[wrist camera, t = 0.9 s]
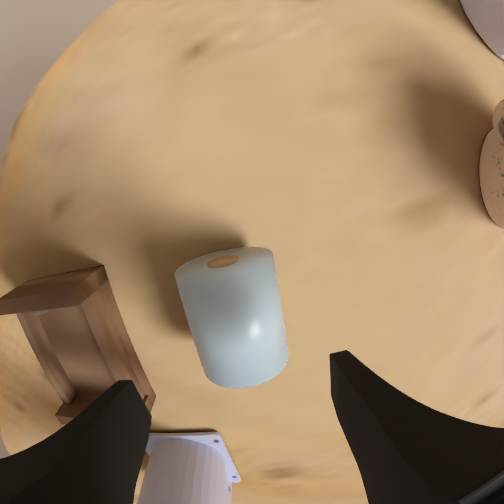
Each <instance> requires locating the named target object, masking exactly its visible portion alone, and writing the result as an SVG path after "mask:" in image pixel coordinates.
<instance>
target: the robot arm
mask: <svg viewBox="0 0 504 504" xmlns="http://www.w3.org/2000/svg"><path fill="white" fill-rule="evenodd" d="M330 374H331V396H332V400H333V403H334V407H335V410H336V414H337V417H338V420H339V422H340V425H341V427H342V429H343V432H344V434H345V436H346V439H347V441H348V443H349V446H350V448H351V450H352V453H353V455H354V457H355V460H356V462H357V465H358V467H359V470H360V473H361V476H362V480H363V483H364V487H365V491H366V494H367V498H368V502H369V504H504V428H496V427H489V426H484V425H480V424H475V423H471V422H468V421H464V420H461V419H458V418H455V417H452V416H449V415H446V414H444V413H441V412H439V411H436V410H434V409H432V408H430V407H428V406H426V405H424V404H422V403H420V402H418V401H416V400H414V399H412V398H411V397H409V396H407V395H406V394H404V393H402V392H401V391H399V390H398V389H396V388H395V387H393V386H392V385H390V384H389V383H387V382H386V381H385V380H383V379H382V378H381V377H379V376H378V375H377V374H375V373H374V372H373V371H371V370H370V369H369V368H368V367H367V366H365V365H364V364H363V363H362V362H361V361H359V360H358V359H357V358H356V357H355V356H354V355H352V354H351V353H350V352H349V351H347V350H345V351H341V352H337V353H332V354H330ZM151 418H152V416H151V414H150V412H149V410H148V409H147V407H146V405H145V403H144V401H143V400H142V398H141V396H140V394H139V392H138V390H137V388H136V386H135V384H134V383H133V381H132V380H118V381H117V382H115V383H114V384H113V385H112V386H110V387H109V388H108V389H107V390H106V391H105V392H104V393H102V394H101V395H100V396H99V397H98V398H97V399H96V400H95V401H94V402H92V403H91V404H90V405H89V406H88V407H87V408H86V409H84V410H83V411H82V412H81V413H80V414H79V415H77V416H76V417H75V418H74V419H72V420H71V421H70V422H69V423H67V424H66V425H65V426H64V427H62V428H61V429H60V430H58V431H57V432H55V433H54V434H52V435H51V436H49V437H48V438H46V439H44V440H43V441H41V442H39V443H37V444H35V445H33V446H31V447H30V448H28V449H26V450H24V451H21V452H19V453H16V454H14V455H11V456H8V457H5V458H2V459H0V504H133V500H134V492H135V487H136V482H137V478H138V475H139V471H140V468H141V464H142V461H143V457H144V454H145V451H146V452H147V454H148V455H149V456H150V457H149V460H148V464H147V468H146V471H145V475H144V479H143V483H142V486H141V490H140V494H139V498H138V502H137V504H231V500H232V483H239V482H241V477H240V475H239V473H238V471H237V469H236V467H235V465H234V463H233V461H232V459H231V457H230V455H229V452H228V450H227V448H226V446H225V444H224V442H223V439H222V437H221V435H220V434H219V433H218V432H198V433H150V427H151Z"/></svg>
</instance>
